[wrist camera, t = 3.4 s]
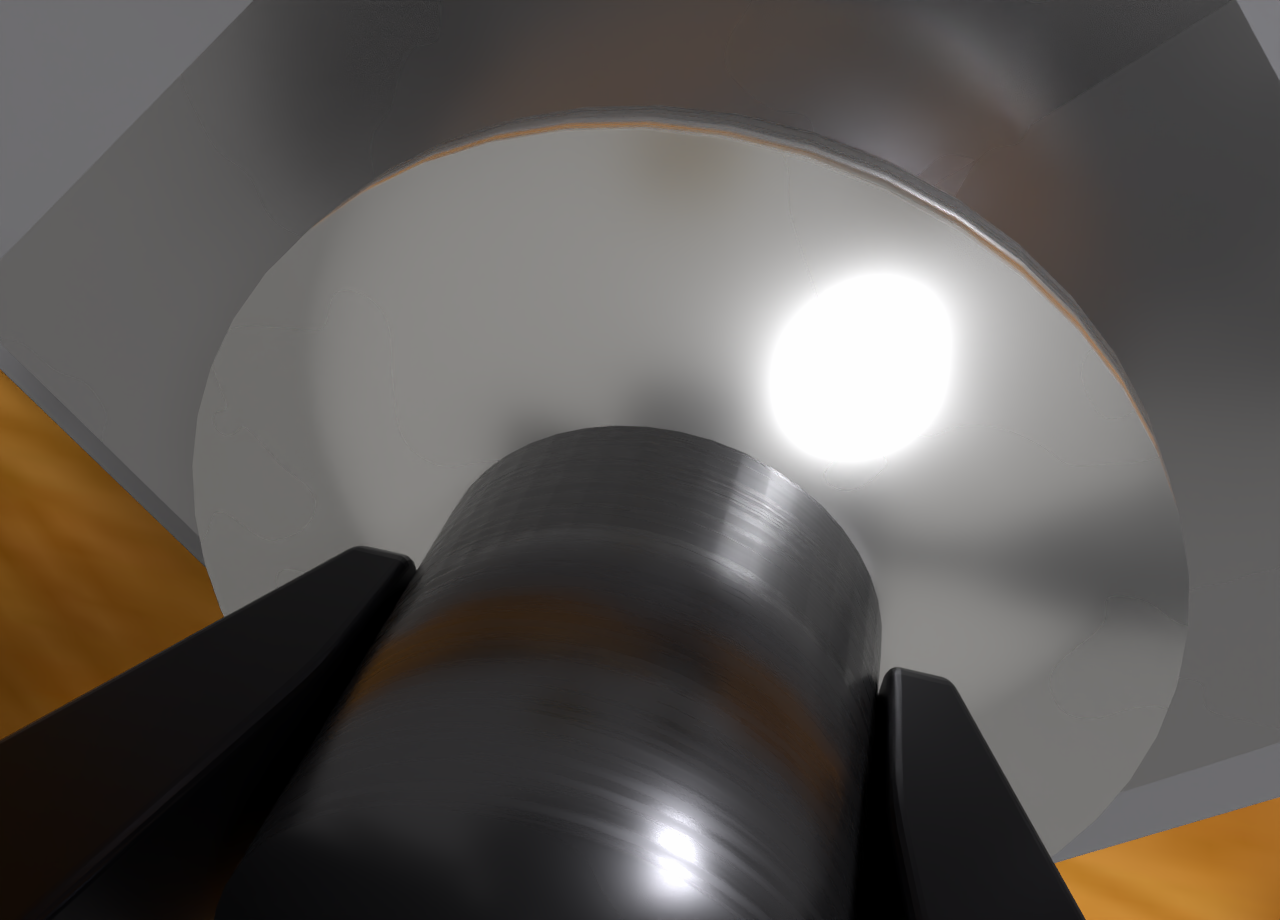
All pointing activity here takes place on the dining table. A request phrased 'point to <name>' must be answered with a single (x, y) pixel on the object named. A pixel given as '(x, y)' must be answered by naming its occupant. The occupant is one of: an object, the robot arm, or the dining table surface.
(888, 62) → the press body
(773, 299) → the plunger
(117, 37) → the slate mat
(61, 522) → the dining table surface
